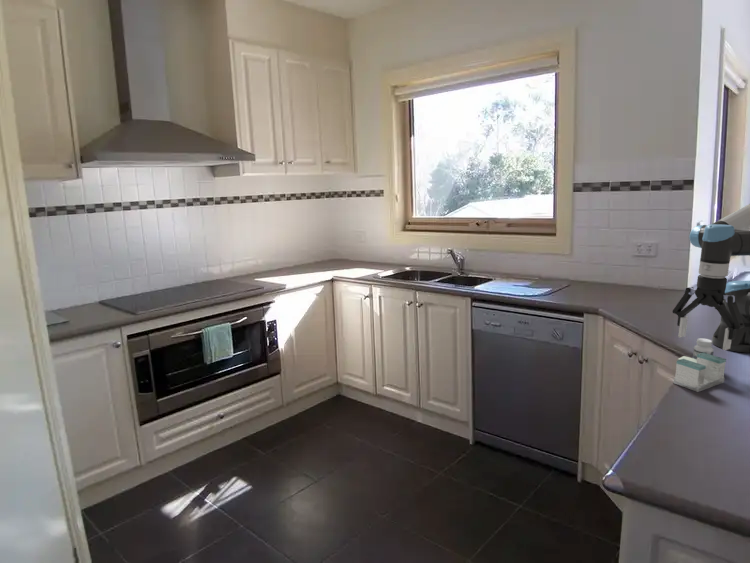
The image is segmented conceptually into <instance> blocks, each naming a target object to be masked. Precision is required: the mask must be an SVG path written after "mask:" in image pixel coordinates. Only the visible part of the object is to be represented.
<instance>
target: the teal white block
mask: <svg viewBox="0 0 750 563" xmlns="http://www.w3.org/2000/svg"><path fill="white" fill-rule="evenodd" d="M726 362H727V359H726V358H725V357H724V358H723V357H720V356H716V355H714V354H713V355H710V354H707V353H700V354H697V363H695V362H692V361H689V360H686V359H681V360H678V359H677V360H676V366H675V375H674V378H673V384H675V385H677V386H678V387H679V386H680V387H682V388H685V389H688V390H691V391H694V392H697V393H699V392H701V391H704V390H707V389H710V388H713V387H716V386H718V385H721V384H724V383H725V379H726V378H725V368H726Z"/></svg>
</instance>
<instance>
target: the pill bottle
mask: <svg viewBox="0 0 750 563" xmlns="http://www.w3.org/2000/svg"><path fill="white" fill-rule="evenodd" d="M712 345H713V343H712V339H709V338H704V337H703V338H697V339H696V345H694V346H693V353H692V358H694V359H697V354H700V353H707V354H710V355H713V356H714V350H715V349H714V348H713V347H712Z"/></svg>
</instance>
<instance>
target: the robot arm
mask: <svg viewBox="0 0 750 563" xmlns="http://www.w3.org/2000/svg"><path fill="white" fill-rule="evenodd" d="M688 238H689V241H690V244H691V245H692V246H693V247H696V248H700V249H701V251H700V259H699V265H698V266H699V267H698V274H699V275H698V276H697V282H696V288H695V287H694V286H690V287H686V288H685V291H684V294H683V295H682V297H681V298H680V299H679V301H678V302H677V304H676V305H675V307H674V308H673V309H672V314H675V315H677V323H676V325H677V327H679V328H678V335H677V337H678V338H685V337H687V336H686V335H687V327H688V326H687V325H688V321H689V320H688V318H689V316H687V315H688V314H689V313H691V311H693V310H694V309H695V308H697V307H698V306H699V305H701V306H708V307H709V308H713V307H714V309H715V310H716V311H717V312H718V313H719V314H720V320H719V324H718V326H717V327H716V330H715V331H714V333H713V334H712V338H711V341H712V345H714V346H716V347H718V348H720V349H722V350H723V351H733V352H738V353H744V354H747V353H749V354H750V280H734V281H733V280H732V281H728V278H727V277H728V275H729V268H730V262H731V257H736V256H737V257H739V256H743V257H744V256H746V257H747V256H750V203H749V204H747V205H744V206H742V207H741V208H739V209H736V211H734V212H732V213H730V214H728V215H725V217H722V218H720V219H719V220H717V221H715V222H713V223H711V224H708V225H707V224H699V225H696V226H694V227H693V228H692V229H691V231H690V233H689V237H688ZM694 294H695V297H696V298H695V299H694V300H692V301H691V303H689V304H688V302H690V299H691V298H692V297H693V295H694ZM687 304H688V305H687ZM686 305H687V306H686ZM685 306H686V307H685Z"/></svg>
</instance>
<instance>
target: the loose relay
mask: <svg viewBox="0 0 750 563" xmlns="http://www.w3.org/2000/svg"><path fill="white" fill-rule="evenodd" d="M681 359H686V360H689V361H692V362H695V363H697V359H694V358H693V357H690V356H687V355H686V356H685V355H683V356H681V357H679V358H677V361H678V360H681Z"/></svg>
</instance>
